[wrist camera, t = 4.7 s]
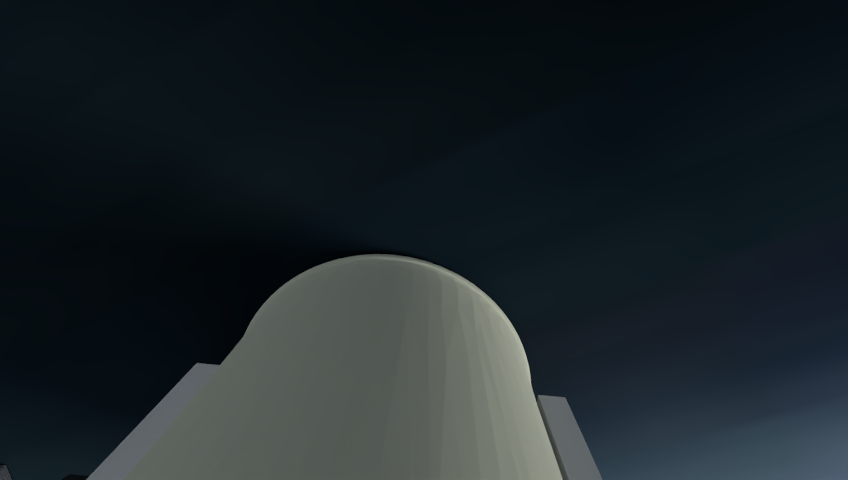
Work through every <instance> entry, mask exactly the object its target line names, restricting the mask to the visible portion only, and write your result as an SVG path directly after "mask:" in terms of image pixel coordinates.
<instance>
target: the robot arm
mask: <svg viewBox="0 0 848 480" xmlns="http://www.w3.org/2000/svg"><path fill="white" fill-rule="evenodd" d="M219 366H220V365H212V364H202V363H196V364H195V366H194V367H193V368H192V369H191V370H190V371H189V372H188V373H187V374H186V375H185V376H184V377H183V378H182V379H181V380H180V381H179V382H178V383H177V385H176V386H175V387H174V388H173V389H172V390H171V391H170V392H169V393H168V394H167V395H166V396H165V397H164V398H163V399H162V400H161V401H160V402H159V404H158V405H157V406H156V407H155V408H154V409H153V410H152V411H151V412H150V413H149V414H148V415H147V416H146V417H145V418H144V419H143V420H142V421H141V422H140V424H139V425H138V426H137V427H136V428H135V429H134V430H133V431H132V432H131V433H130V434H129V435H128V436H127V437H126V438H125V439H124V440H123V441H122V443H121V444H120V445H119V446H118V447H117V448H116V449H115V450H114V451H113V452H112V453H111V454H110V455H109V456H108V457H107V458H106V459H105V460H104V462H103V463H102V464H101V465H100V466H99V467H98V468H97V469H96V470H95V471H94V472H93V473H92V474H91V475H90V476H81V475H68V476H67V477H65V478H63V479H62V480H124V479H125V477H126V476H127V475H128V474H129V473H130V471H131V470H132V469H133V468H134V467H135V466H136V464H137V463H138V462H139V461H140V460H141V459H142V457H143V456H144V455H145V454H146V453H147V452H148V450H149V449H150V448H151V447H152V446H153V444H154V443H155V442H156V441H157V440H158V438H159V437H160V436H161V435H162V434H163V432H164V431H165V430H166V429H167V428H168V427H169V425H170V424H171V423H172V422H173V421H174V419H175V418H176V417H177V416H178V415H179V413H180V412H181V411H182V410H183V409H184V408H185V406H186V405H187V404H188V403H189V402H190V400H191V399H192V398H193V397H194V396H195V394H196V393H197V392H198V391H199V390H200V389H201V387H202V386H203V385H204V384H205V383H206V381H207V380H208V379H209V378H210V377H211V375H212V374H213V373H214V372H215V371H216V369H217V368H218V367H219ZM537 406H538V409H539V411H540V414H541V417H542V420H543V423H544V426H545V429H546V432H547V435H548V438H549V441H550V444H551V446H552V449H553V452H554V455H555V458H556V461H557V464H558V467H559V470H560V473H561V476H562V478H563V480H602V478H601V475H600V473H599V471H598V469H597V467H596V464H595V462H594V460H593V458H592V456H591V453H590V451H589V449H588V447H587V445H586V442H585V440H584V438H583V436H582V433H581V431H580V429H579V427H578V425H577V422H576V420H575V418H574V416H573V414H572V411H571V409H570V407H569V405H568V403H567V400H566V398H565V397H554V396H544V395H538V400H537Z"/></svg>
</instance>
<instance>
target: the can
mask: <svg viewBox="0 0 848 480" xmlns="http://www.w3.org/2000/svg"><path fill="white" fill-rule="evenodd" d="M124 480H563V478H562V476H561V473H560V470H559V467H558V464H557V461H556V458H555V455H554V452H553V449H552V446H551V444H550V441H549V438H548V435H547V432H546V429H545V426H544V423H543V420H542V417H541V414H540V411H539V409H538V406H537V403H536V400H535V396H534V393H533V390H532V387H531V378H530V370H529V365H528V361H527V357H526V354H525V351H524V348H523V345H522V343H521V341H520V338H519V336H518V334H517V332H516V331H515V329H514V327H513V325H512V324H511V322H510V321H509V319H508V318H507V317H506V315H505V314H504V312H503V311H502V310H501V309H500V308H499V307H498V306H497V304H496V303H495V302H494V301H493V300H492V299H491V298H490V297H488V296H487V295H486V294H485V293H484V292H483V291H481V290H480V289H479V288H478V287H476V286H475V285H474V284H472V283H471V282H469V281H468V280H466V279H465V278H463V277H461V276H460V275H458V274H456V273H454V272H452V271H450V270H448V269H446V268H444V267H442V266H439V265H436V264H433V263H430V262H427V261H424V260H420V259H416V258H411V257H407V256H399V255H388V254H368V255H357V256H351V257H345V258H340V259H336V260H333V261H329V262H326V263H323V264H321V265H318V266H315V267H313V268H311V269H309V270H307V271H305V272H303V273H301V274H299V275H298V276H296V277H294V278H293V279H291V280H290V281H288V282H287V283H285V284H284V285H283V286H282V287H280V288H279V289H278V290H277V291H276V292H275V293H273V294H272V295H271V296H270V297H269V298H268V300H267V301H266V302H265V303H264V304H263V305H262V306H261V308H260V309H259V310H258V312H257V313H256V314H255V316H254V318H253V319H252V321H251V322H250V324H249V326H248V328H247V330H246V332H245V334H244V336H243V338H242V339H241V340H240V341H239V343H238V344H237V345H236V346H235V348H234V349H233V350H232V351H231V352H230V354H229V355H228V356H227V357H226V358H225V360H224V361H223V362H222V363H221V364H220V366H219V367H218V368H217V369H216V371H215V372H214V373H213V374H212V375H211V377H210V378H209V379H208V380H207V381H206V383H205V384H204V385H203V386H202V387H201V389H200V390H199V391H198V392H197V393H196V394H195V396H194V397H193V398H192V399H191V400H190V402H189V403H188V404H187V405H186V406H185V408H184V409H183V410H182V411H181V412H180V413H179V415H178V416H177V417H176V418H175V419H174V421H173V422H172V423H171V424H170V425H169V427H168V428H167V429H166V430H165V431H164V432H163V434H162V435H161V436H160V437H159V438H158V440H157V441H156V442H155V443H154V444H153V446H152V447H151V448H150V449H149V450H148V452H147V453H146V454H145V455H144V456H143V457H142V459H141V460H140V461H139V462H138V463H137V464H136V466H135V467H134V468H133V469H132V470H131V471H130V473H129V474H128V475H127V476H126V477H125V479H124Z"/></svg>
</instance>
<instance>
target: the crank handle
mask: <svg viewBox="0 0 848 480" xmlns="http://www.w3.org/2000/svg"><path fill="white" fill-rule="evenodd" d="M0 480H12V479H11V477H10V474H9V472H8V469H7V467H6V465H2V466H0Z"/></svg>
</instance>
